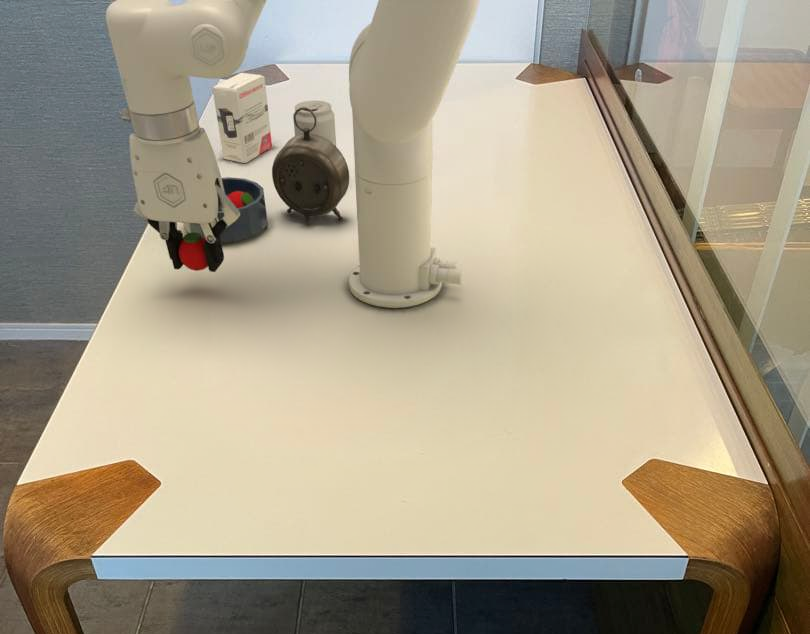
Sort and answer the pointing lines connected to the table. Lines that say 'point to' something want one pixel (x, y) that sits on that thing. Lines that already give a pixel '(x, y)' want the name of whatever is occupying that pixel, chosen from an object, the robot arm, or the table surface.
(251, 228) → the bowl
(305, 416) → the table surface
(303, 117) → the beverage can
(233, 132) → the ink box
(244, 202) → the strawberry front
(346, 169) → the alarm clock
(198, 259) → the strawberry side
